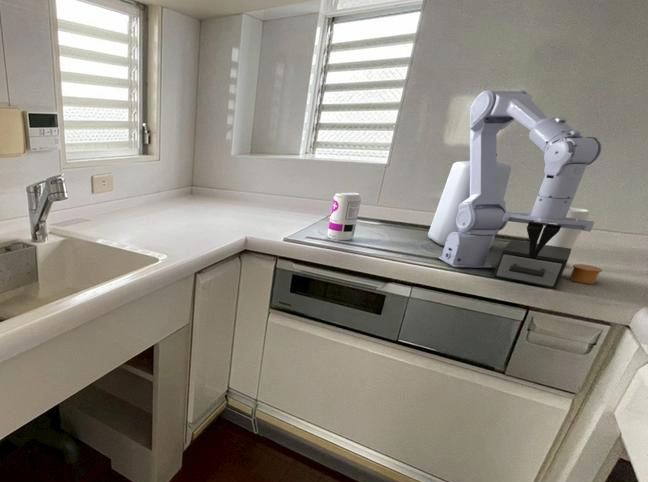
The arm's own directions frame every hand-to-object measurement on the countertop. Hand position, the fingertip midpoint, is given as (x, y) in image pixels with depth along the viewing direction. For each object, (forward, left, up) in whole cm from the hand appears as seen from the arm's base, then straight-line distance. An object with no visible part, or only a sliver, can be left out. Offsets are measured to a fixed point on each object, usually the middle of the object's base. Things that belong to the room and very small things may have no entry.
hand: (532, 256), depth 92 cm
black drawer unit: (+7, +8, -8) cm, 13 cm away
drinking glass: (+21, +20, -8) cm, 30 cm away
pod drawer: (+4, +5, -7) cm, 9 cm away
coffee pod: (+18, +6, -8) cm, 20 cm away
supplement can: (-28, +43, -8) cm, 52 cm away
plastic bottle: (+8, +40, -8) cm, 42 cm away
